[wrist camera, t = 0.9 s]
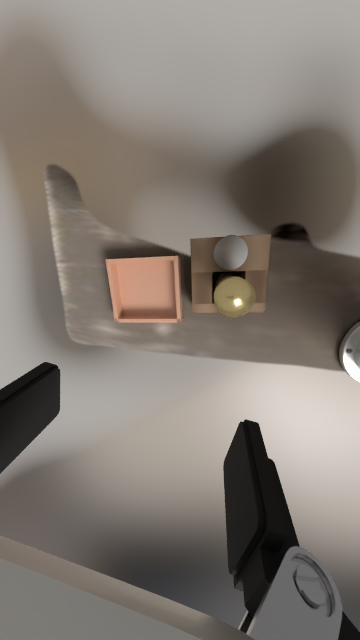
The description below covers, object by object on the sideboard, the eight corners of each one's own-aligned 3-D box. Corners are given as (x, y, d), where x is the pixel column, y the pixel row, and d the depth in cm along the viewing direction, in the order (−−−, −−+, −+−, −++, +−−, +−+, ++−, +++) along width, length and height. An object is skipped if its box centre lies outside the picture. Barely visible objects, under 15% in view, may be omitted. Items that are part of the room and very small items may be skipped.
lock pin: (240, 269, 30) (257, 276, 20) (239, 296, 31) (254, 317, 21) (212, 270, 31) (213, 278, 20) (212, 297, 32) (213, 317, 22)
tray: (180, 255, 31) (177, 255, 28) (182, 317, 34) (180, 322, 31) (113, 259, 32) (105, 259, 30) (121, 318, 35) (115, 322, 33)
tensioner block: (263, 236, 28) (275, 232, 23) (257, 305, 31) (268, 315, 26) (192, 241, 30) (189, 237, 24) (194, 306, 33) (191, 316, 27)
